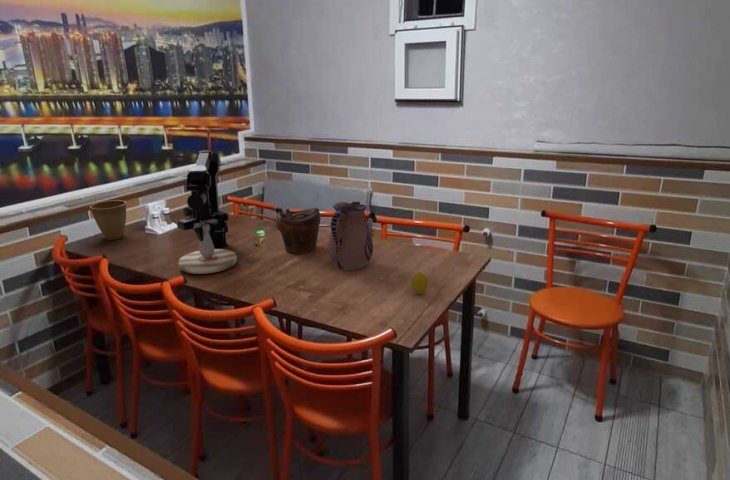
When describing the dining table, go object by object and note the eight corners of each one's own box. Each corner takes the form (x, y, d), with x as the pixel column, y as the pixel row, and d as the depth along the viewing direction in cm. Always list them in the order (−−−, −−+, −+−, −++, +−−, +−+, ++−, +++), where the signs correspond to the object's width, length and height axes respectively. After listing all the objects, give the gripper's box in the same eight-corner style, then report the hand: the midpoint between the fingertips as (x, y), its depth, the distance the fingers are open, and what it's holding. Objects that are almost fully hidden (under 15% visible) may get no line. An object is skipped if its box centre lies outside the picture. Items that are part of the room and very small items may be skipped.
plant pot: (109, 231, 241) (103, 199, 236) (137, 233, 239) (132, 200, 234) (88, 241, 227) (82, 207, 222) (119, 243, 225) (113, 208, 220)
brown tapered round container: (268, 250, 215) (265, 210, 209) (303, 239, 228) (302, 201, 223) (294, 260, 203) (293, 218, 197) (330, 248, 217) (330, 208, 211)
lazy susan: (179, 257, 205) (177, 243, 203) (234, 250, 211) (233, 237, 209) (178, 276, 185) (176, 261, 183) (239, 269, 191) (238, 254, 189)
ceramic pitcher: (378, 261, 202) (378, 200, 194) (361, 281, 183) (360, 215, 175) (338, 256, 207) (336, 197, 199) (317, 275, 188) (314, 211, 180)
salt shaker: (210, 259, 194) (207, 227, 190) (197, 258, 195) (193, 226, 191) (217, 253, 199) (214, 222, 195) (204, 252, 200) (201, 221, 196)
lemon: (410, 291, 174) (410, 270, 171) (425, 290, 174) (426, 269, 172) (412, 298, 169) (413, 276, 166) (428, 297, 169) (429, 275, 166)
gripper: (213, 194, 202) (217, 231, 207) (168, 203, 189) (173, 242, 194) (227, 199, 194) (231, 237, 199) (182, 209, 182) (187, 249, 187)
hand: (206, 241), depth 195 cm, fingers closed on salt shaker, 3 cm apart
